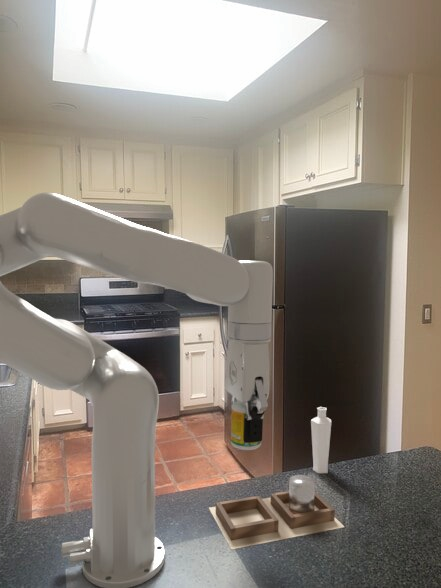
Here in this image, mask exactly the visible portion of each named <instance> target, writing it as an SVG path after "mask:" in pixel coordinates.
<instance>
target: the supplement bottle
mask: <svg viewBox="0 0 441 588" xmlns="http://www.w3.org/2000/svg"><path fill="white" fill-rule="evenodd" d="M250 400H257V399H256V396H254V397H251V398H250ZM254 406H256V404H251V410H252V408H253V407H254ZM245 418H246V409H245V403H241V402H240V401H238V400H237V401H235V402H234V403H233V404H231V418H230V419H231V423H230V424H231V425H230V429H231V430H230V434H231V435H230V436H231V437H230V444H231V446H233V447H234V448H236V449H237V450H242V451H252V450H256V449H258V448H260V447H261V445H262V441H260V442H251V443H245V442H244V440H243V436H244V419H245Z"/></svg>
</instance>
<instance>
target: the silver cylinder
mask: <svg viewBox="0 0 441 588" xmlns="http://www.w3.org/2000/svg"><path fill="white" fill-rule="evenodd" d="M288 485H289V486H288V488H289V489H288V491H289V510H290V511H291V513H292V514H293V515H294V514H300V513H305V512H311V511H314V509H315V508H314V496H315V492H316V491H315V490H316V489H315V487H316V486H315V485H316V482H315V479H314V478H313V477H311V476H309V475H306V474H294V475H292V476H290V477H289V484H288Z"/></svg>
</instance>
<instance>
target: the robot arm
mask: <svg viewBox="0 0 441 588" xmlns="http://www.w3.org/2000/svg"><path fill="white" fill-rule="evenodd" d="M49 256H52V257H55V258H58V259H61V260H64V261H66V262H71V263H74V264H75V265H76V264H77V265H78V266H79V265H80V266H82V267H86V268H89V269H91V270H95V271H98V272H102V273H104V274H107V275H110V276H113V277H116V278H119V279H121V280H126V281H131V282H133V283H138V284H139V283H140V284H147V285H155V286H158V287H161V288H166V289H170V290H174V291H177V292H180V293H183V294H186V296H188V297H189V298H190V299H192V300H194V301H196V302H200V303H204V304H209V305H210V304H211V305H215V306H220V307H227V334H226V335H227V337H226V339H227V341H228V344H227V351H226V361H225V374H224V375H225V376H224V388H225V390H226V392H228V393H229V394H230V395H231V401H230V402H231V404H230V405H232V404H233V403H234V402H235V401H237V400H238V401H240V402H241V403H245V409H246V418H245V419H244V436H243V440H244V442H245V443H251V442H260V441H261V442H262V441H263V424H264V423H263V421H264V418H265V412H266V410H267V408H269V404H268V403H269V402H268V399H269V394H270V356H269V355H270V354H269V352H270V351H269V350H270V349H269V343H270V342H271V341H272V338H271V337H272V317H273V314H272V313H273V312H272V311H273V308H272V307H273V287H274V286H273V283H274V282H273V279H274V273H273V271H274V269H273V266H272V264H271V263H269V262H268V261H265V260H238V259H236V258H235V257H233V256H230V255H228V254H225V253H223V252H221V251H218V250H215V249H213V248H210V247H208V246H205V245H203V244H200V243H197V242H195V241H190V240H189V239H184V238H182V237H178V236H175V235H171V234H168V233H164V232H162V231H160V230H157V229H153V228H151V227H146V226H143V225H141V224H137V223H135V222H132V221H129V220H127V219H124V218H122V217H118V216H116V215H114V214H111V213H109V212H105V211H103V210H101V209H98V208H95V207H93V206H91V205H88V204H87V203H83V202H80V201H77V200H75V199H73V198H70V197H66V196H64V195H61V194H58V193H54V192H39V193H37V194H34V195H32V196H31V197H29V198H27V200H26V201H25V202H24V203H23V205H22V206H21V207H18V208H16V209H14V210H11V211H9V212H6V213H2V214H0V277H2V276H4V275H7V274H9V273H12V272H15V271H17V270H19V269H22V268H24V267H27V266H29V265H31V264H34V263H37V262H38V261H42V260H43V259H45V258H47V257H49ZM0 362H1V363H2V364H4V365H6V366H8V367H9V368H12V369H13V370H16V371H17V372H19V373H21V374H22V375H25V376H26V377H28V378H30V379H31V380H33V381H35V382H37V383H38V384H40V385H42V386H43V387H46V388H48V389H52V390H56V391H68V390H70V391H72V392H74V393H76V395H77V394H78V395H79V396H81V397H83V398H85V399H87V400H88V401H89V403H90V405H91V407H92V415H93V416H92V417H93V418H92V420H93V421H92V433H91V434H92V435H91V496H92V497H91V503H92V505H91V509H92V510H91V511H92V514H91V515H92V517H91V518H92V521H91V523H92V528H89V536H84V537H83V539H81V540H75V541H74V540H72V541H67V542H61V558H66V557H69V565H72V564H77V563H80V562H82V563H81V565H82V566H81V567H82V573H83V575H84V577H85V578H86V579H87V581H88V582H90V583H92V584H93V585H95V586H98V587H100V588H133V587H136V586H139V585H141V584H143V583H146V582H147V581H149V580H150V579H152V578H153V577H155V576H156V575H157V574H158V573H159V572H160V570H161V569H162V568H163V566H164V563H165V561H166V550H165V547H164V544H163V542H162V541H161V540H160V539H159V538H158V537H156V477H155V476H156V461H155V460H156V453H155V452H156V450H155V448H156V445H155V444H156V429H157V423H158V412H159V407H160V406H159V405H160V404H159V403H160V395H159V390H158V386H157V383H156V381H155V379H154V378H153V376H152V374H151V373H150V371H148V370H147V369H146V367H144V366H142V365H141V364H140V363H138V362H137V361H135V360H134V359H133V358H131V357H130V356H128V355H126V354H125V353H124V352H121V351H120V350H118V349H117V348H115V347H113V346H111V345H110V344H108V343H107V342H106V341H104V340H101V338H98V337H96V336H95V335H93V334H92V333H90V332H88V331H86V330H85V329H83V328H82V327H80V326H79V325H77V324H75V323H73V322H71V321H69V320H67V319H63V318H55V317H52V316H51V315H49V314H47V313H46V312H44V311H42V310H40V309H39V308H37V307H35V306H34V305H32V304H31V303H29V302H28V301H27V300H25V299H23V298H22V297H20V296H18V295H16V294H15V293H13V292H12V291H10V290H9V289H8V288H7V287H6V286H5V285H4V284H3V283H2V281H1V280H0ZM254 396H256V399H257V400H250V398H251V397H254ZM251 404H256V406H254V407H253V408H252V410H251Z"/></svg>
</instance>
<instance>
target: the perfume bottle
mask: <svg viewBox="0 0 441 588" xmlns="http://www.w3.org/2000/svg"><path fill="white" fill-rule="evenodd" d="M316 409H317V416H315V417H313V418H312V419H311V420H310V426H311V427H310V429H311V445H312V461H313V462H312V463H313V464H312V465H313V467H312V470H313V471H314V472H316V473H317V474H328V472H329V469H328V466H329V465H328V464H329V454H330V441H331V433H332V432H331V431H332V429H331V428H332V419H331V418H329V417H327V407H323V406H319V407H316Z"/></svg>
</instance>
